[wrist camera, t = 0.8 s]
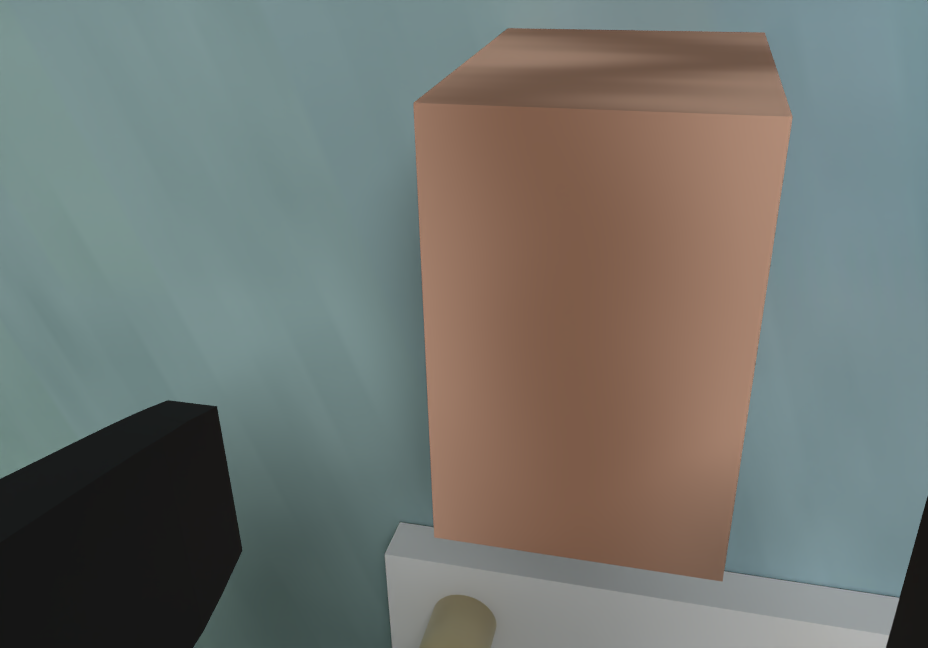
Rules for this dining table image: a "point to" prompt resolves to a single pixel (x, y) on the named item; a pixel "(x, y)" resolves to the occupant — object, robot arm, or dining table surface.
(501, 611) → the standoff plate
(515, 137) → the board block
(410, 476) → the dining table surface
